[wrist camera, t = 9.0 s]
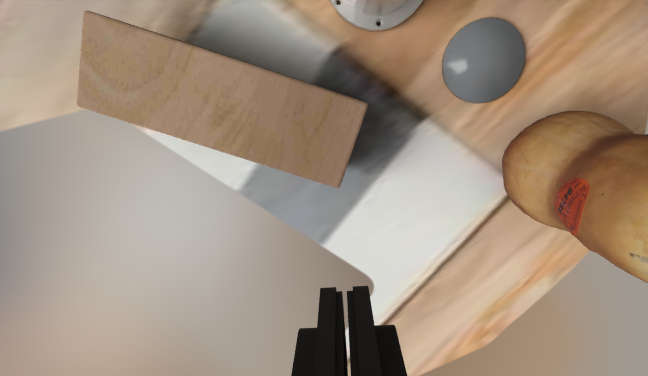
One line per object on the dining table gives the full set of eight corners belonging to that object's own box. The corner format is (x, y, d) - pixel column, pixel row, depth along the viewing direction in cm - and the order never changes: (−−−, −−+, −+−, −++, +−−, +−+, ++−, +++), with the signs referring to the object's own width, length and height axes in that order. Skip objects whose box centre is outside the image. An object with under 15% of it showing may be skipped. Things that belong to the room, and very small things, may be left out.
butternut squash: (484, 116, 43) (672, 150, 19) (590, 101, 42) (932, 117, 18) (484, 212, 47) (639, 341, 23) (580, 200, 45) (850, 323, 22)
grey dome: (443, 22, 39) (444, 21, 39) (526, 15, 39) (529, 13, 38) (440, 105, 42) (442, 106, 42) (518, 99, 42) (520, 99, 41)
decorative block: (339, 189, 36) (75, 106, 34) (338, 168, 45) (131, 102, 44) (369, 103, 33) (82, 8, 32) (361, 100, 43) (141, 27, 41)
